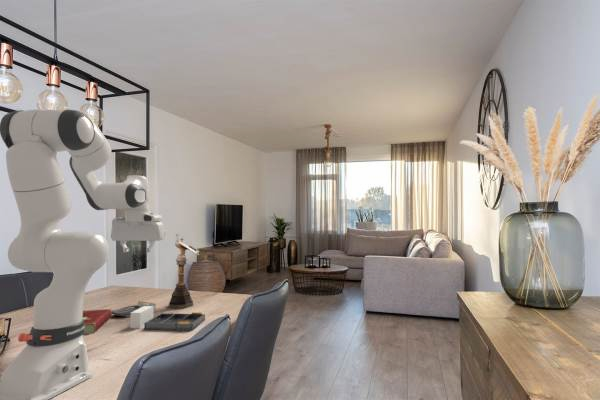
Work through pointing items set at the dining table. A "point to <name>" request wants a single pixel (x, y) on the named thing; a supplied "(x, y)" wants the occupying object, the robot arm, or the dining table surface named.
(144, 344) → the dining table surface
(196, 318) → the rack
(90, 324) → the hardcover book
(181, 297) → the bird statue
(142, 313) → the white rectangular block
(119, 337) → the dining table surface
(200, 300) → the dining table surface
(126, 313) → the graphics card
